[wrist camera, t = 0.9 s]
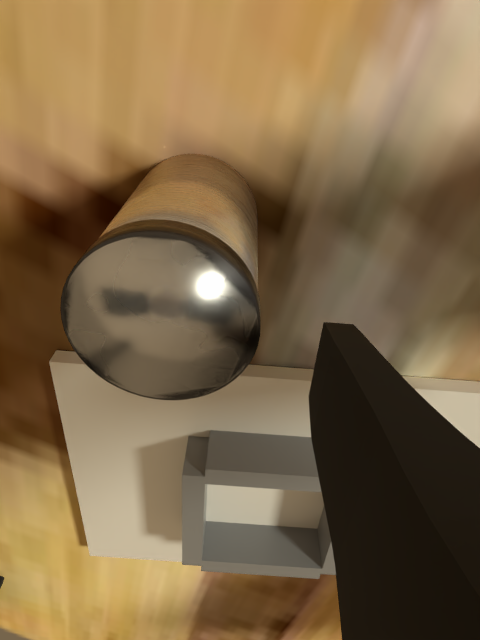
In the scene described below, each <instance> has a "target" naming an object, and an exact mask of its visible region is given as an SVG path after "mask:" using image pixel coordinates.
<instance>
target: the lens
mask: <svg viewBox="0 0 480 640" xmlns="http://www.w3.org/2000/svg"><path fill="white" fill-rule="evenodd" d="M61 318H62V323H63V327H64V331H65V333H66V335H67V338H68V340H69V342H70V344H71V346H72V347H73V349H74V351H75V352H76V353H77V355H78V356H79V357H80V359H81V360H82V361H83V362H84V363H85V364H86V365H87V366H88V367H89V368H90V369H91V370H92V371H93V372H94V373H96V374H97V375H98V376H99V377H101V378H102V379H104V380H105V381H107V382H108V383H110V384H112V385H114V386H116V387H117V388H120V389H122V390H124V391H127V392H129V393H132V394H135V395H138V396H142V397H147V398H151V399H159V400H187V399H192V398H198V397H201V396H205V395H208V394H210V393H213V392H215V391H218V390H220V389H221V388H223V387H225V386H227V385H228V384H230V383H231V382H232V381H234V380H235V379H236V378H237V377H238V376H239V375H240V374H241V373H242V372H243V371H244V370H245V369H246V367H247V366H248V365H249V363H250V362H251V360H252V358H253V356H254V354H255V352H256V349H257V346H258V342H259V337H260V300H259V293H258V218H257V206H256V202H255V198H254V196H253V193H252V191H251V189H250V187H249V186H248V184H247V183H246V181H245V180H244V179H243V177H242V176H241V175H240V174H239V173H238V172H237V171H236V170H235V169H233V168H232V167H231V166H230V165H228V164H226V163H225V162H223V161H221V160H219V159H216V158H214V157H211V156H207V155H202V154H182V155H177V156H174V157H171V158H168V159H166V160H164V161H162V162H161V163H159V164H157V165H156V166H155V167H154V168H153V169H151V170H150V171H149V173H148V174H147V175H146V176H145V177H144V179H143V180H142V181H141V183H140V184H139V185H138V187H137V188H136V189H135V191H134V192H133V193H132V195H131V196H130V197H129V199H128V200H127V201H126V203H125V204H124V205H123V207H122V208H121V209H120V211H119V212H118V213H117V215H116V216H115V217H114V219H113V220H112V221H111V223H110V224H109V225H108V227H107V228H106V229H105V231H104V232H103V233H102V235H101V236H100V237H99V239H97V240H96V241H95V242H94V243H93V244H92V245H91V246H90V247H89V248H88V250H87V251H86V252H85V253H84V255H83V256H82V257H81V259H80V260H79V261H78V262H77V264H76V265H75V266H74V268H73V269H72V271H71V273H70V274H69V276H68V278H67V280H66V283H65V285H64V288H63V292H62V297H61Z"/></svg>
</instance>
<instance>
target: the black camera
mask: <svg viewBox="0 0 480 640" xmlns="http://www.w3.org/2000/svg"><path fill="white" fill-rule="evenodd" d="M3 580H4V577H2V576H0V588H1V586H2V584H3Z"/></svg>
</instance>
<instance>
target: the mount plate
mask: <svg viewBox="0 0 480 640" xmlns="http://www.w3.org/2000/svg"><path fill="white" fill-rule="evenodd" d="M49 364H50V369H51V373H52V378H53V383H54V388H55V392H56V397H57V402H58V407H59V411H60V416H61V421H62V426H63V430H64V435H65V440H66V445H67V449H68V454H69V459H70V463H71V468H72V473H73V478H74V482H75V487H76V492H77V497H78V501H79V506H80V511H81V516H82V520H83V525H84V530H85V534H86V539H87V544H88V549H89V553H90V556H102V557H117V558H132V559H146V560H161V561H175V562H182V565H196V566H201V571H210V572H224V573H239V574H253V575H268V576H283V577H297V578H312V579H319V577H320V574H328V575H336V570H335V562H334V555H333V549H332V543H331V537H330V532H329V527H328V522H327V517H326V512H325V507H324V502H323V497H322V492H321V487H320V482H319V477H318V471H317V466H316V461H315V456H314V451H313V445H312V440H311V428H310V414H309V397H308V396H309V391H310V386H311V382H312V377H313V372H314V369H302V368H289V367H275V366H262V365H248V366H247V367H246V369H245V370H244V371H243V372H242V373H241V374H240V375H239V376H238V377H237V378H236V379H235V380H234V381H232V382H231V383H230V384H228V385H227V386H225V387H223V388H221V389H220V390H218V391H215V392H213V393H210V394H208V395H205V396H201V397H198V398H192V399H187V400H159V399H151V398H147V397H142V396H138V395H135V394H132V393H129V392H127V391H124V390H122V389H120V388H117V387H116V386H114V385H112V384H110V383H108V382H107V381H105V380H104V379H102V378H101V377H99V376H98V375H97V374H96V373H94V372H93V371H92V370H91V369H90V368H89V367H88V366H87V365H86V364H85V363H84V362H83V361H82V360H81V359H80V357H79V356H78V355H77V353H76V352H73V351H60V350H56V351H55V353H54V355H53V356H52V358H51V359H50V361H49ZM402 377H403V378H404V379H405V380H406V381H407V382H408V383H409V384H410V385H411V386H412V387H413V388H414V389H415V390H416V391H417V392H418V393H419V394H420V395H421V396H422V397H423V398H424V399H425V400H426V401H427V402H428V403H429V404H430V405H431V406H432V407H433V408H435V409H436V410H437V411H438V412H439V413H440V414H441V415H442V416H443V417H444V418H446V419H447V420H448V421H449V422H450V423H451V424H452V425H453V426H454V427H455V428H456V429H458V430H459V431H460V432H461V433H462V434H463V435H465V436H466V437H467V438H468V439H469V440H470V441H472V442H473V443H474V444H475V445H476V446H478V447H479V448H480V382H478V381H464V380H451V379H437V378H424V377H410V376H402Z"/></svg>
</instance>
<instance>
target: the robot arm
mask: <svg viewBox="0 0 480 640" xmlns="http://www.w3.org/2000/svg"><path fill="white" fill-rule="evenodd" d="M308 397H309V414H310V428H311V440H312V445H313V451H314V456H315V461H316V466H317V471H318V477H319V482H320V487H321V492H322V497H323V502H324V507H325V512H326V517H327V522H328V527H329V532H330V537H331V543H332V549H333V555H334V562H335V570H336V579H337V589H338V599H339V609H340V619H341V631H342V640H480V448H479V447H478V446H476V445H475V444H474V443H473V442H472V441H470V440H469V439H468V438H467V437H466V436H465V435H463V434H462V433H461V432H460V431H459V430H458V429H456V428H455V427H454V426H453V425H452V424H451V423H450V422H449V421H448V420H447V419H446V418H444V417H443V416H442V415H441V414H440V413H439V412H438V411H437V410H436V409H435V408H433V407H432V406H431V405H430V404H429V403H428V402H427V401H426V400H425V399H424V398H423V397H422V396H421V395H420V394H419V393H418V392H417V391H416V390H415V389H414V388H413V387H412V386H411V385H410V384H409V383H408V382H407V381H406V380H405V379H404V378H403V377H402V376H401V375H400V374H399V373H398V372H397V371H396V370H395V369H394V368H393V366H392V365H391V364H390V363H389V362H388V361H387V360H386V359H385V358H384V357H383V356H382V355H381V354H380V353H379V351H378V350H377V349H376V348H375V347H374V346H373V345H372V344H371V343H370V342H369V341H368V339H367V338H366V337H365V336H364V335H363V334H362V333H361V332H360V331H359V330H358V329H357V328H356V327H355V326H354V325H353V324H340V323H326V322H324V324H323V329H322V333H321V338H320V343H319V348H318V353H317V358H316V362H315V367H314V372H313V377H312V382H311V386H310V391H309V396H308Z"/></svg>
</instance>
